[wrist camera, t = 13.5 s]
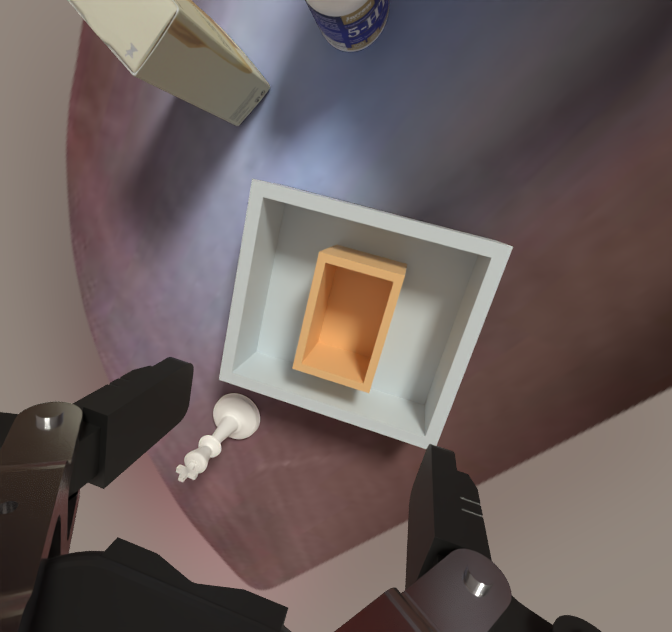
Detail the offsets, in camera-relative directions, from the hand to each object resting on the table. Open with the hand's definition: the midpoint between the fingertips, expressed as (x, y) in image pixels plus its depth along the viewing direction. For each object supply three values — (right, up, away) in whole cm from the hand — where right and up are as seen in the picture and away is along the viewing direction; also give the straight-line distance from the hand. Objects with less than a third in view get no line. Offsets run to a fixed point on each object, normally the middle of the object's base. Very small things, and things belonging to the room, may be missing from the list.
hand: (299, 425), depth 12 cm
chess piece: (-9, -7, +27) cm, 29 cm away
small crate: (+3, +4, +20) cm, 21 cm away
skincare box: (-7, +23, +19) cm, 31 cm away
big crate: (+3, +5, +21) cm, 22 cm away
